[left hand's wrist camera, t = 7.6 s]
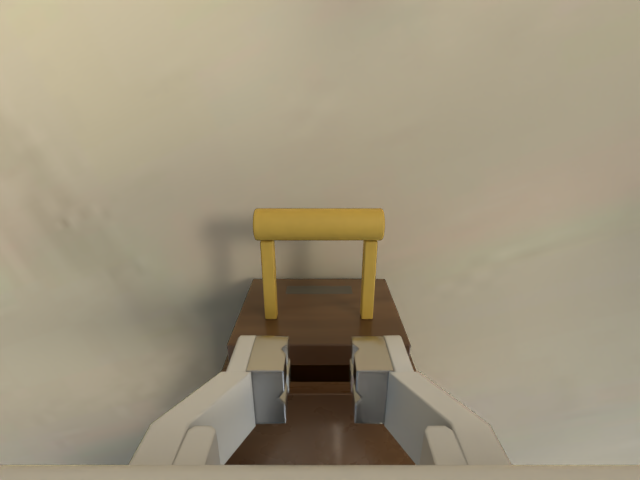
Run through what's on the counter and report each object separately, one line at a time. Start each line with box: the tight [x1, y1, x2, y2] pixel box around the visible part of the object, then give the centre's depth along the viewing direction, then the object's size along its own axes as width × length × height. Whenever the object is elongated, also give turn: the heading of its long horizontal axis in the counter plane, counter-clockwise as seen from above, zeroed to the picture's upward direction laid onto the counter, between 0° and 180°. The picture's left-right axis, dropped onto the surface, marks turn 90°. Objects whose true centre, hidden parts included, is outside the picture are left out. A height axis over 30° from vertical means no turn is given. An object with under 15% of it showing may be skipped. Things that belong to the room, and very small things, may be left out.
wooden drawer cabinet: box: [222, 355, 416, 465], centre depth 22 cm, size 14×10×8 cm, turn 0°
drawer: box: [227, 209, 411, 382], centre depth 20 cm, size 19×8×7 cm, turn 0°
